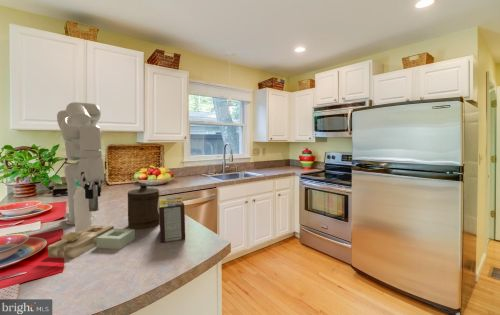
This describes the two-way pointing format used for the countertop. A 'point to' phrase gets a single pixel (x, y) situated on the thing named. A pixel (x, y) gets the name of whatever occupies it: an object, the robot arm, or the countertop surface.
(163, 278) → the countertop surface
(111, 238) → the pale green square block
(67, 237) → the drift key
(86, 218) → the water bottle
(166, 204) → the protein box
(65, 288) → the countertop surface
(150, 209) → the wooden container
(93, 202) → the silver cylinder
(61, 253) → the socket block
